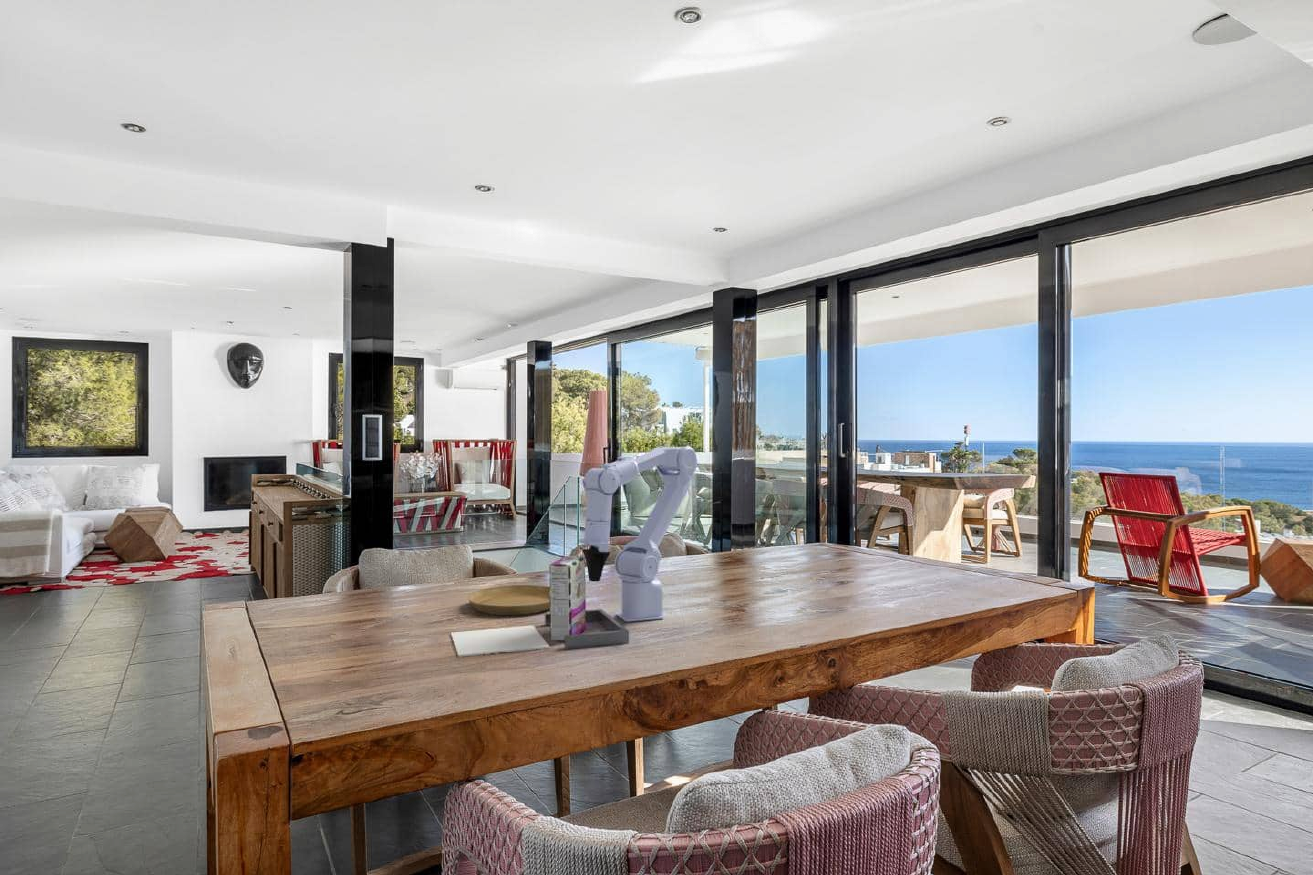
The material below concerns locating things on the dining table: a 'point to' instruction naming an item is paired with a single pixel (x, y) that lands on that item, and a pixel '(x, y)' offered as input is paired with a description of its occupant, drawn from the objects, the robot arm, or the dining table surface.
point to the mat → (497, 640)
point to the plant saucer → (511, 599)
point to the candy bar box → (567, 597)
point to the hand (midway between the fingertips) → (594, 580)
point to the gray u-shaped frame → (613, 636)
